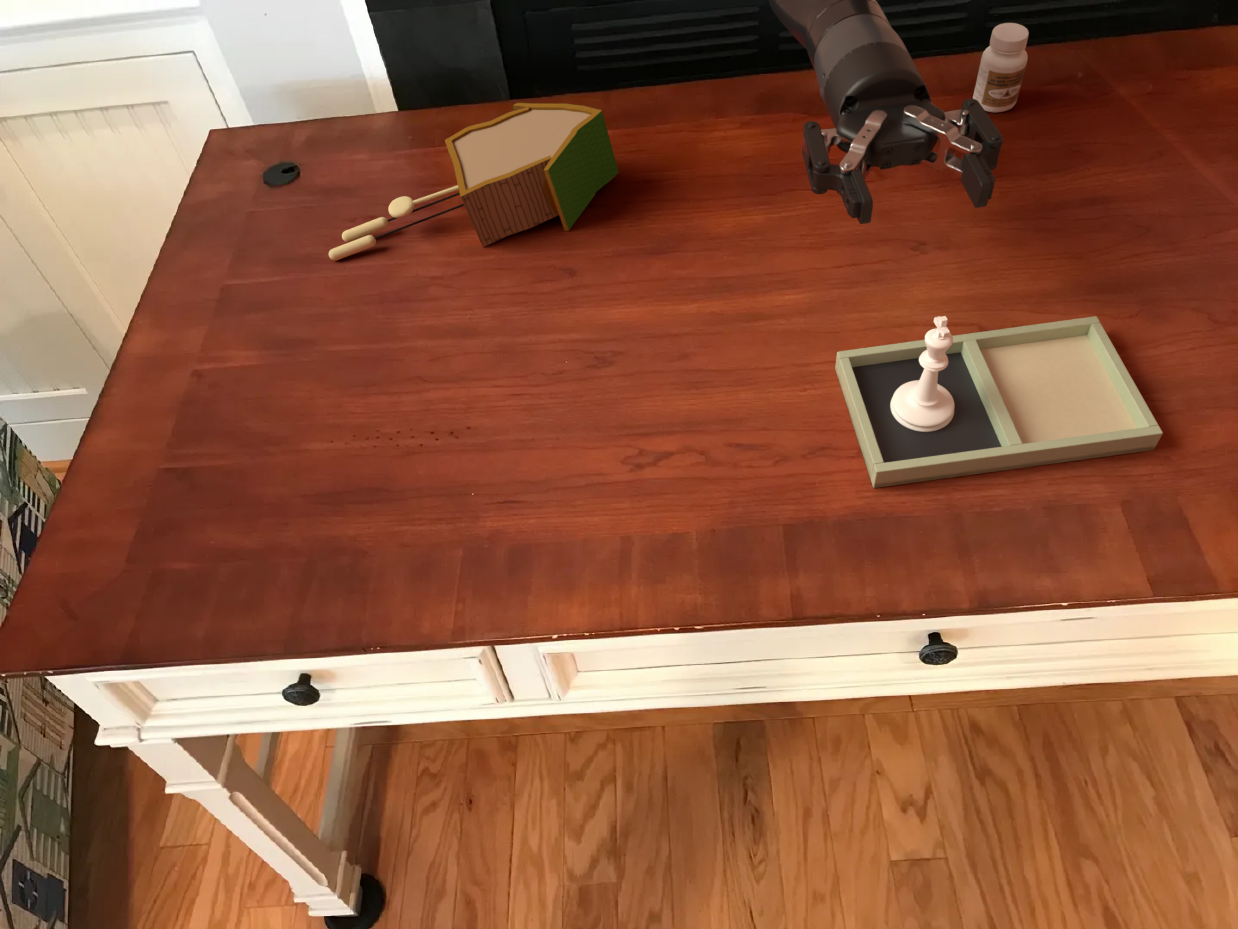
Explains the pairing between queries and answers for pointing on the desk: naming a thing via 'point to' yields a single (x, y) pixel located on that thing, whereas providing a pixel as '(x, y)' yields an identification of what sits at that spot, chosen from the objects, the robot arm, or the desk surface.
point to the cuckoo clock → (515, 173)
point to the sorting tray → (999, 403)
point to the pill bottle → (1002, 68)
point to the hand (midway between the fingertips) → (925, 205)
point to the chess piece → (927, 386)
